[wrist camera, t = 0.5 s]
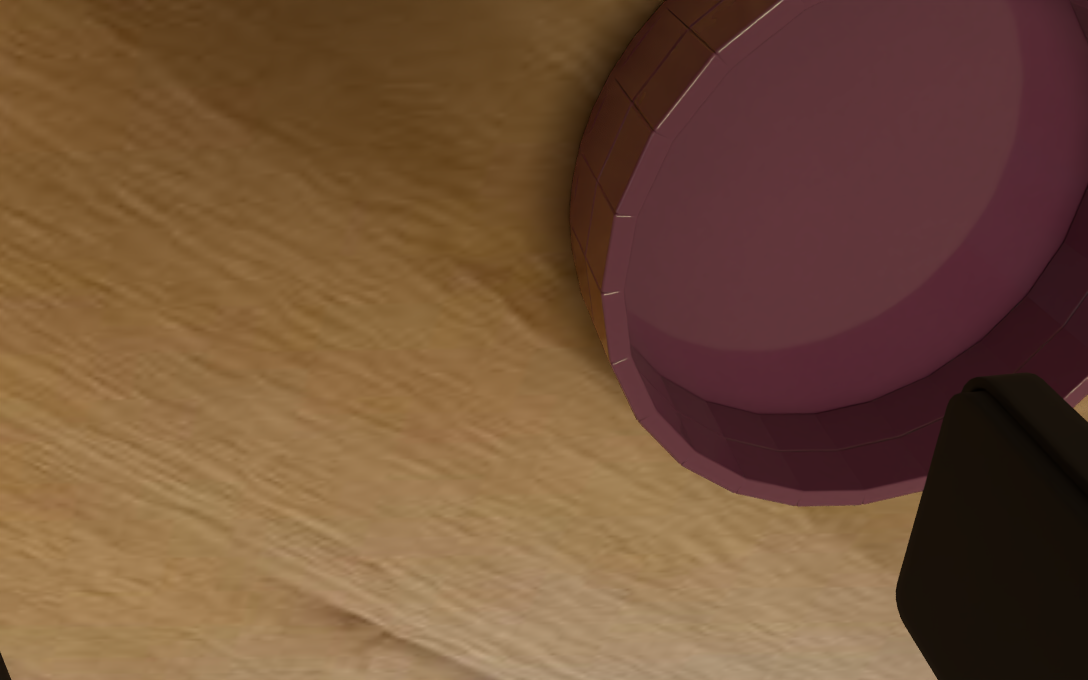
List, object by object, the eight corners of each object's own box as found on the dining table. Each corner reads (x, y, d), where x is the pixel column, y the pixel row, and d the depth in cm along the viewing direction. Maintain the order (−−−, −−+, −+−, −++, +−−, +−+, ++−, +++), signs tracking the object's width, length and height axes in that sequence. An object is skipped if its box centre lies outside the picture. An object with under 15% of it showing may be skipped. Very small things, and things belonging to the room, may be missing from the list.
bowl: (617, -141, 24) (670, -112, 20) (1199, -74, 27) (1338, -38, 23) (537, 418, 32) (563, 512, 28) (989, 416, 35) (1067, 501, 31)
